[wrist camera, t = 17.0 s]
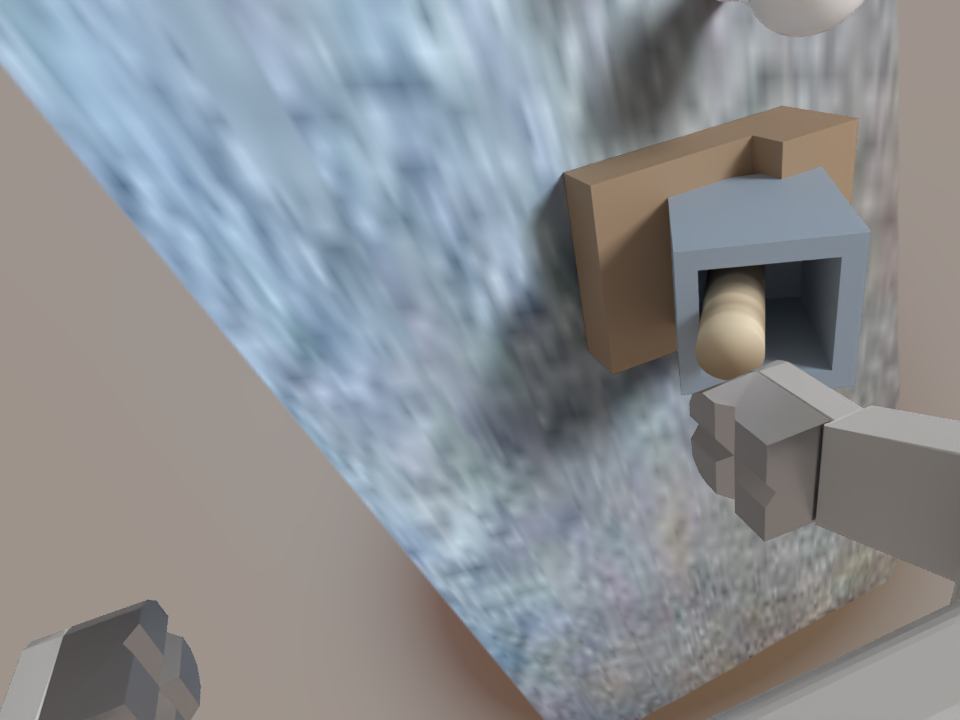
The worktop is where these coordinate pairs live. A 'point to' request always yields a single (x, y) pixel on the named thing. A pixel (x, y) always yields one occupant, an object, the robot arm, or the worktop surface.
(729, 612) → the worktop surface
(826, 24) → the lightbulb
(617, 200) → the socket
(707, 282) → the peg
